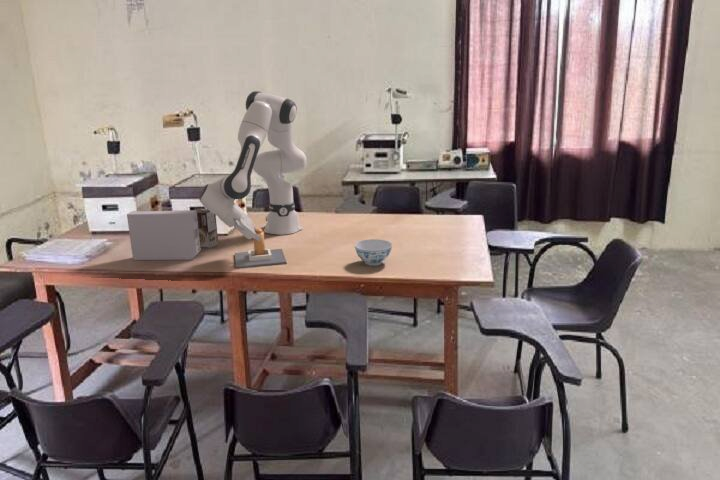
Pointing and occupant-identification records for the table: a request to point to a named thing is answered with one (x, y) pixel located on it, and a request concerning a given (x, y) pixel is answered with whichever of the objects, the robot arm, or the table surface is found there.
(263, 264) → the holder
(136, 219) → the game console
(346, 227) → the table surface
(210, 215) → the coffee box
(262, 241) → the orange cylinder
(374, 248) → the chinaware
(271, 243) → the table surface
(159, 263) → the table surface
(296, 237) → the table surface
